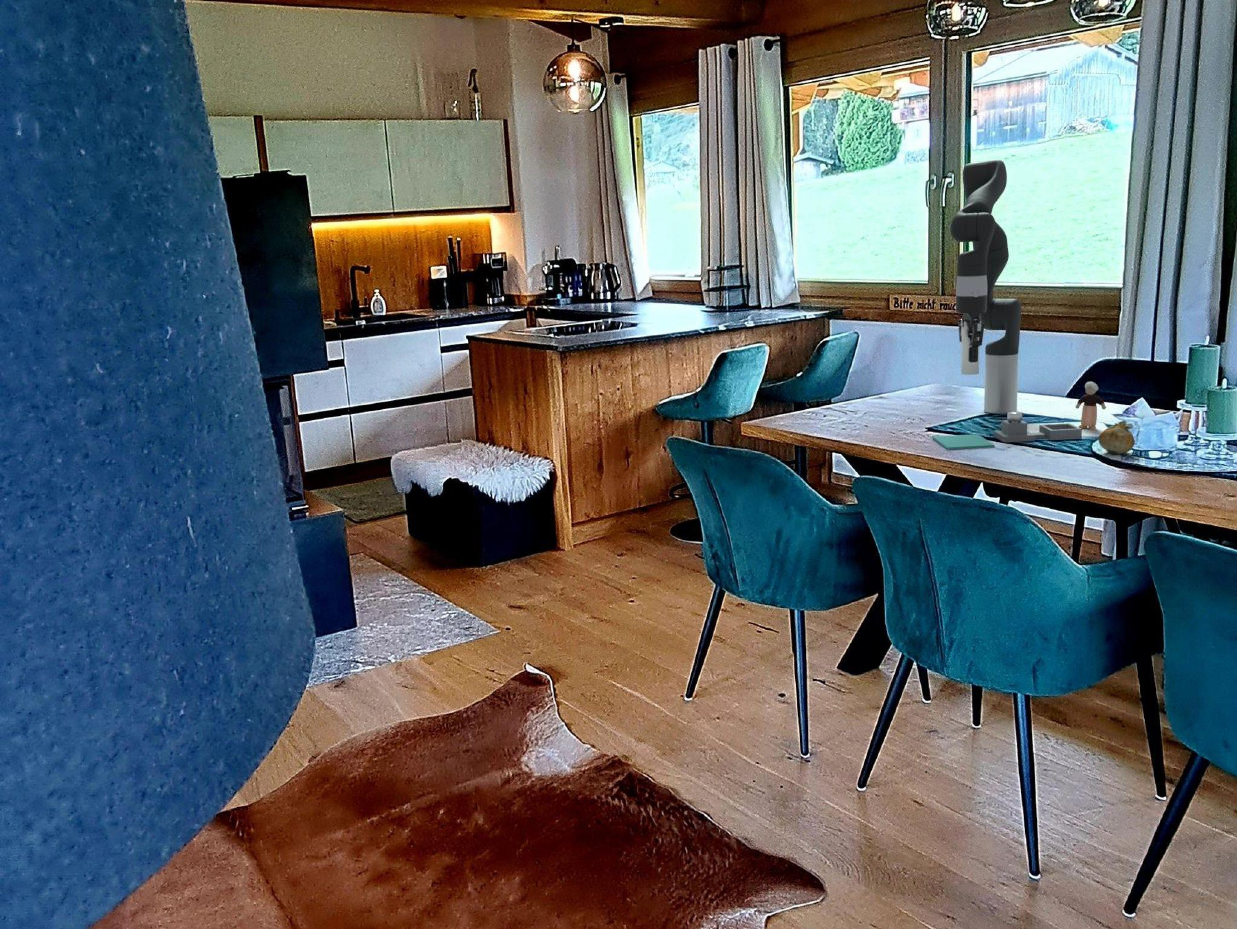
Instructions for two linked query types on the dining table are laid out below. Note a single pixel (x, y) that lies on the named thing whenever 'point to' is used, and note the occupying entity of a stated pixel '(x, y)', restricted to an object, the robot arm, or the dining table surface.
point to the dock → (1050, 431)
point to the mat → (963, 442)
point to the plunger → (1014, 417)
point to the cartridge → (967, 366)
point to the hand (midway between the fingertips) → (970, 360)
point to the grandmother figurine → (1090, 406)
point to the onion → (1117, 438)
